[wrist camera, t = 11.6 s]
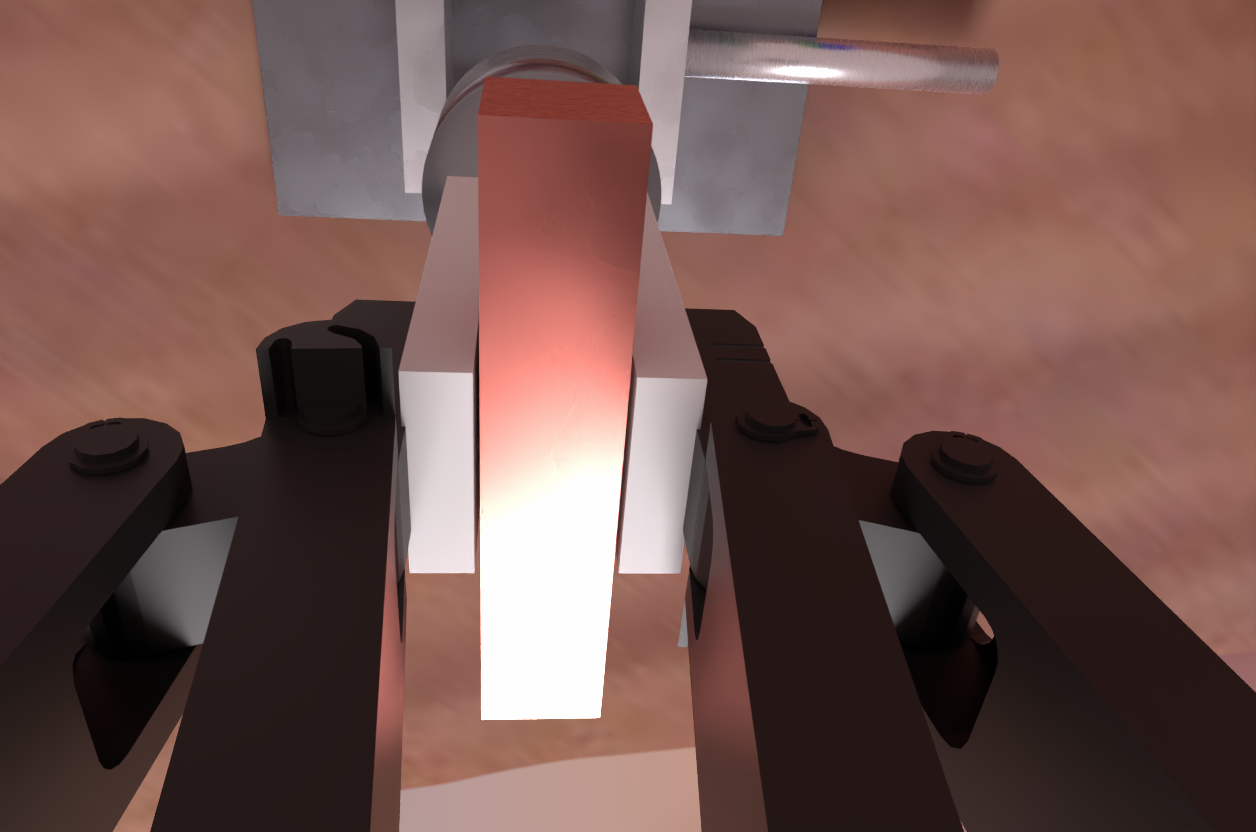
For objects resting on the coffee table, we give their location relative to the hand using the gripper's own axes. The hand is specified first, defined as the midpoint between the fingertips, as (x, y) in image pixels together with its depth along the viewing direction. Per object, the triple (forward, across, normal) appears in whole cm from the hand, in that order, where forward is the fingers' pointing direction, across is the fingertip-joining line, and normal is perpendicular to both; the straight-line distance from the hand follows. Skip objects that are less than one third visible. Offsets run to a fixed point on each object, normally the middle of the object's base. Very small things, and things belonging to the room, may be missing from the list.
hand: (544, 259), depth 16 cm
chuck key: (+6, 0, 0) cm, 6 cm away
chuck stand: (+22, +3, 0) cm, 23 cm away
